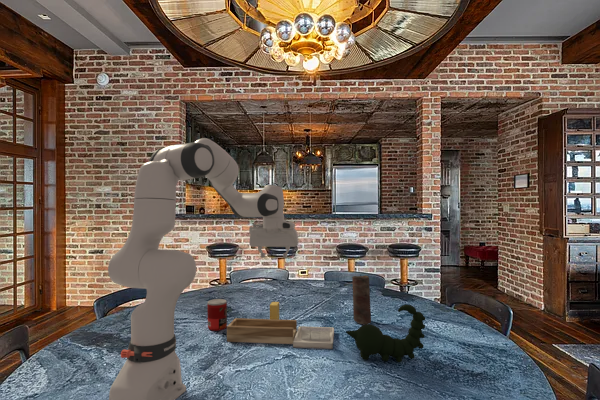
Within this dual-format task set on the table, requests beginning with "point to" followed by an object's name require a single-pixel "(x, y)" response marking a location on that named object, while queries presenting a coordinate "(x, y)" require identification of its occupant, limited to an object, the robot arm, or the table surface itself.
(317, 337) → the grey piece
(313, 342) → the tray
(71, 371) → the table surface
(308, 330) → the grey cubic block
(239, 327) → the open wooden box
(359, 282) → the brown tall block
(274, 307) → the block
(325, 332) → the grey and brown cube
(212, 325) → the canned food
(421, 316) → the toy figurine
